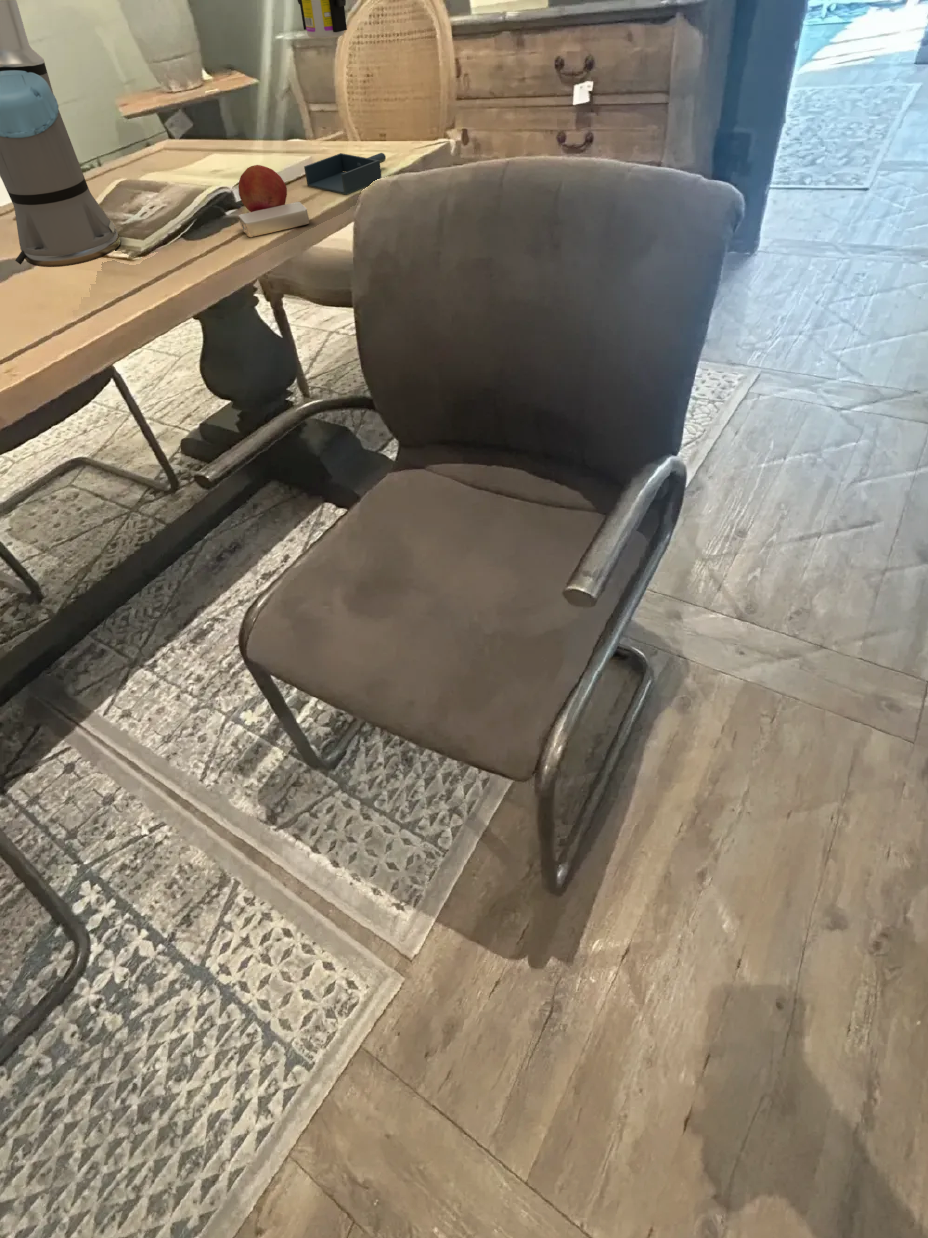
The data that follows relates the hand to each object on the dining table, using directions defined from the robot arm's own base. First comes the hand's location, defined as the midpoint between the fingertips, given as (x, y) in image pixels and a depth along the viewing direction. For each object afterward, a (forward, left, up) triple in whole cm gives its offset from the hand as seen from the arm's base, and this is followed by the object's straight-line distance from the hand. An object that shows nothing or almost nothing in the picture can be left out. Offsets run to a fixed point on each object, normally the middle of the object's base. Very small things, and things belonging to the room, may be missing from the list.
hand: (325, 29), depth 127 cm
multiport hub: (-21, -22, -20) cm, 37 cm away
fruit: (-19, -13, -16) cm, 28 cm away
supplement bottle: (0, 0, -1) cm, 1 cm away
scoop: (+1, -4, -22) cm, 23 cm away
